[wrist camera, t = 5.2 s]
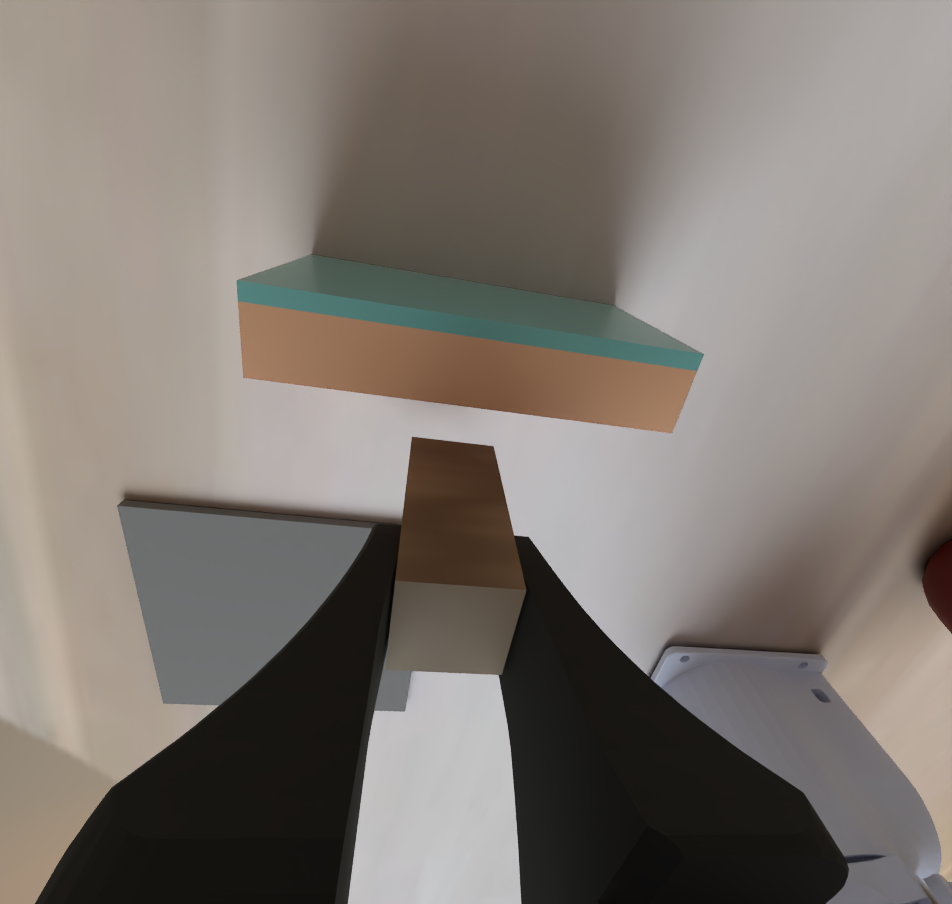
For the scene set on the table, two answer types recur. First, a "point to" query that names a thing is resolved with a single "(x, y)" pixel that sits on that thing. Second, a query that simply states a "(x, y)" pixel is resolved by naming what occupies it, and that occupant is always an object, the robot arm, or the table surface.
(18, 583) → the table surface
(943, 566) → the cocoa
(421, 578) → the stick
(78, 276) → the table surface
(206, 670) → the mat
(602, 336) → the tile
